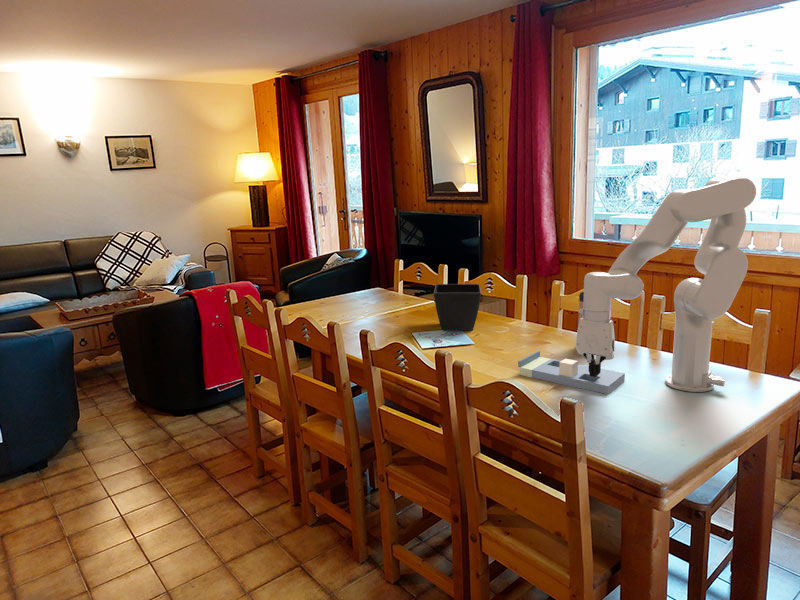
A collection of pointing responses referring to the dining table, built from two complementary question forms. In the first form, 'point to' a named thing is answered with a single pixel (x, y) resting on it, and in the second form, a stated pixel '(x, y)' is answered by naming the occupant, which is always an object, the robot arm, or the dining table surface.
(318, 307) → the dining table surface
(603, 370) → the board
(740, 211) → the robot arm
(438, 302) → the flower pot
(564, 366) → the cream block
